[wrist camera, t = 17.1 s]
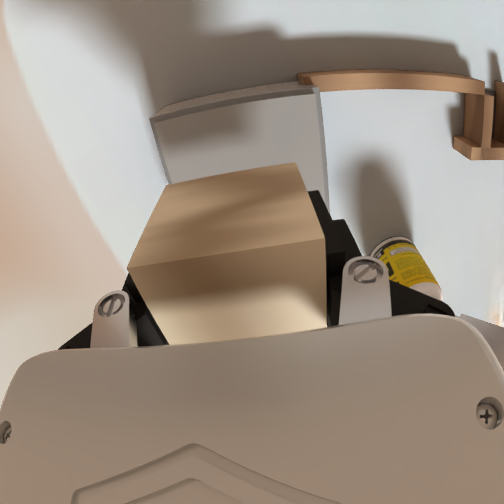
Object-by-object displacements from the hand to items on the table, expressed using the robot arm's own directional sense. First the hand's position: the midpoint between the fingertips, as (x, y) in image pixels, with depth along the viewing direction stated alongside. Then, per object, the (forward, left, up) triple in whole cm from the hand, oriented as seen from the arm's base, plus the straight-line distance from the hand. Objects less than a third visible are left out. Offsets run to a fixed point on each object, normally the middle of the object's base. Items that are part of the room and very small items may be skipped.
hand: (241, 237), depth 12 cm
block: (0, 0, -1) cm, 1 cm away
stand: (0, 0, -10) cm, 10 cm away
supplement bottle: (-11, +11, -10) cm, 19 cm away
